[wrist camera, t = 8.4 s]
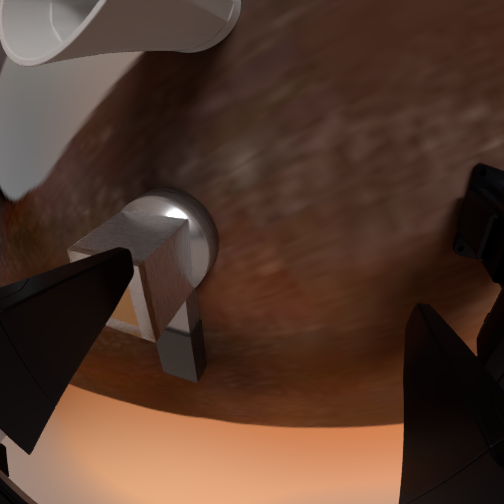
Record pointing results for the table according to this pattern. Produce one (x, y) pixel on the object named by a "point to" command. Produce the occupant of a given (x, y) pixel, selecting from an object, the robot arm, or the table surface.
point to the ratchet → (203, 257)
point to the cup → (110, 27)
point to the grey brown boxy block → (146, 268)
